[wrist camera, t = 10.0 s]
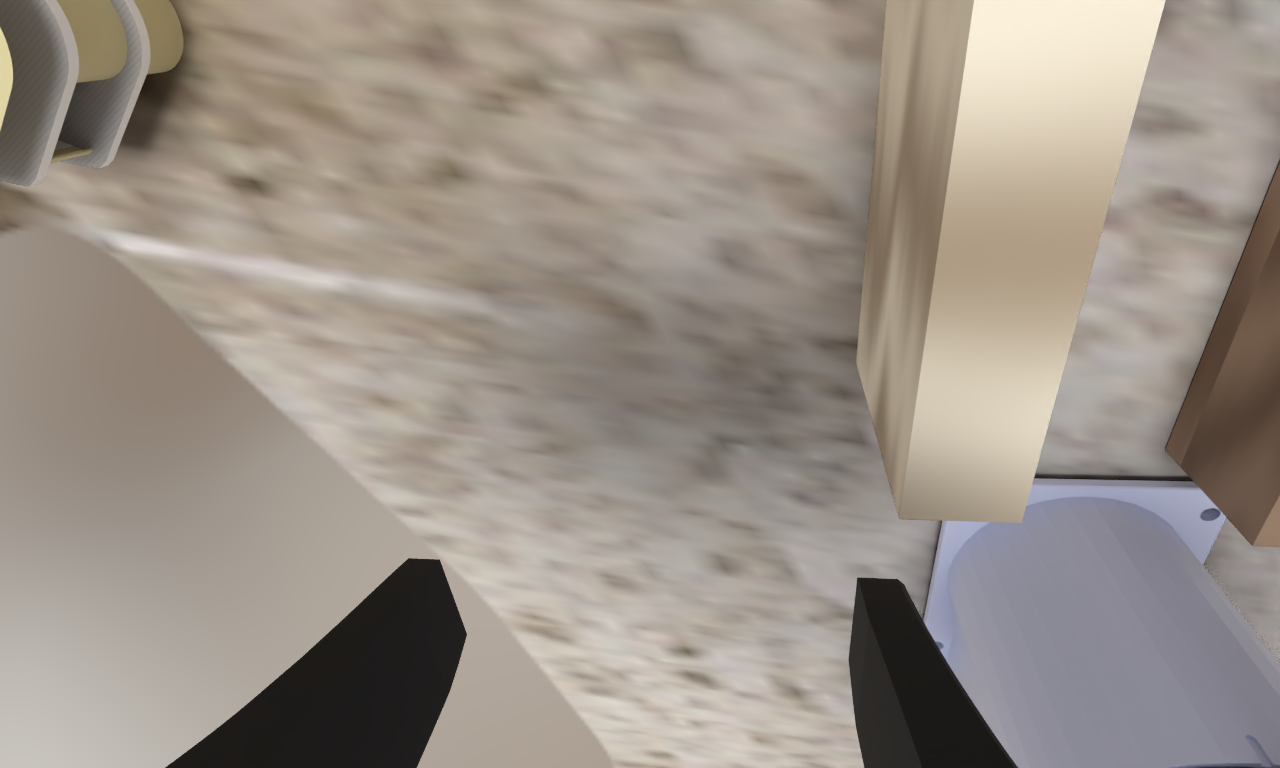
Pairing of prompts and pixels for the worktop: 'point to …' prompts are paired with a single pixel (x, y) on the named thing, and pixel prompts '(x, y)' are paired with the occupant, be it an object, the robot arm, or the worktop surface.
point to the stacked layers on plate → (76, 78)
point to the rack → (1241, 393)
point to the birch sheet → (987, 232)
